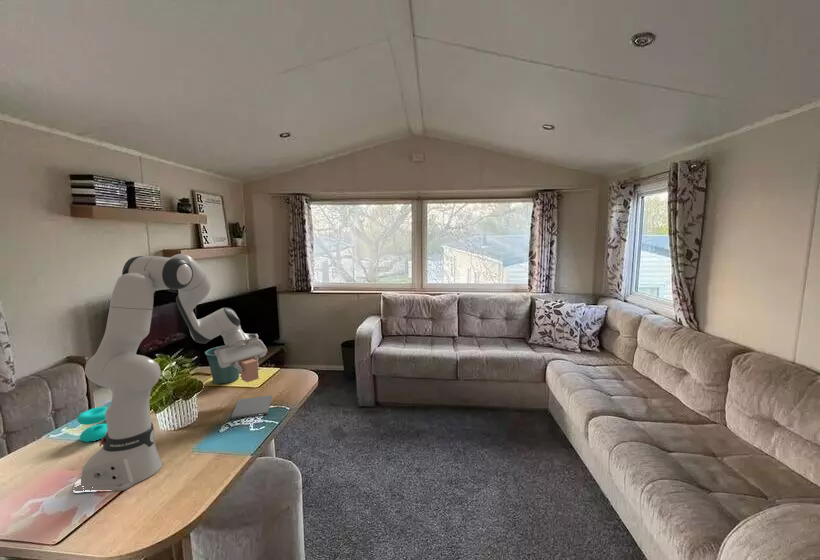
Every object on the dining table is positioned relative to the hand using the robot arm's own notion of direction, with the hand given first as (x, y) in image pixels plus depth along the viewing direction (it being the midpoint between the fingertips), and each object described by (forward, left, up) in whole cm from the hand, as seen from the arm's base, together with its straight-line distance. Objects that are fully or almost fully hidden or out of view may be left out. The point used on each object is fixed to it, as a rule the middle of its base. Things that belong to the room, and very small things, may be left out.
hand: (250, 369), depth 163 cm
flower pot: (-18, +40, -18) cm, 47 cm away
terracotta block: (0, +1, -5) cm, 5 cm away
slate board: (0, +1, -17) cm, 17 cm away
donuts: (-54, -6, -18) cm, 58 cm away
